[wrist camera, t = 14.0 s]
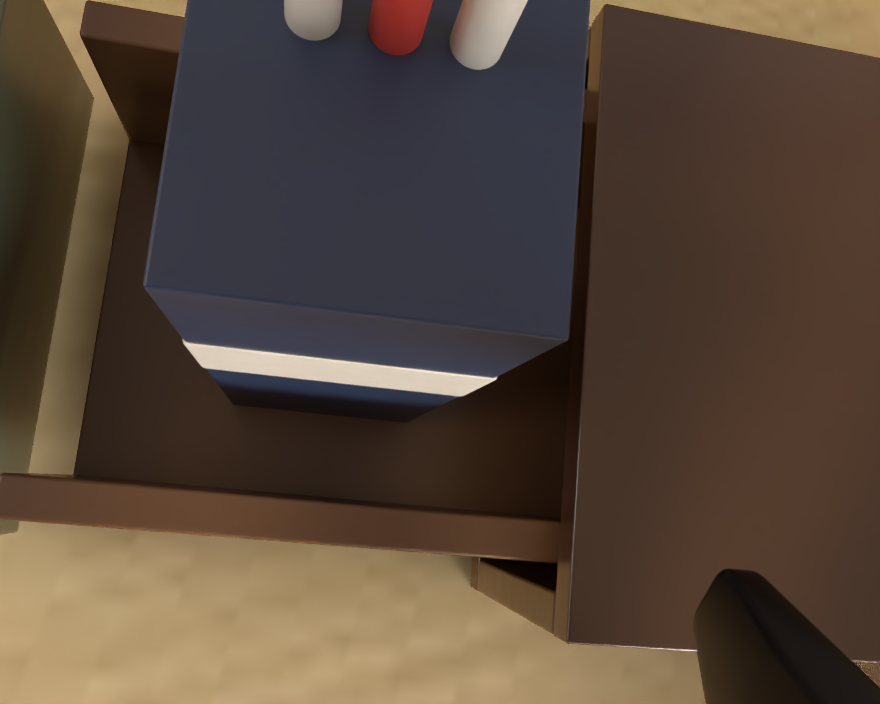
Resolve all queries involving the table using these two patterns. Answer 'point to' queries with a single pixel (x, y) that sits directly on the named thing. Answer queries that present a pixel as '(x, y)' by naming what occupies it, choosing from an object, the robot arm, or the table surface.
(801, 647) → the robot arm
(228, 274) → the straw box
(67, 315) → the table surface
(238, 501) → the drawer
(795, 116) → the cabinet
